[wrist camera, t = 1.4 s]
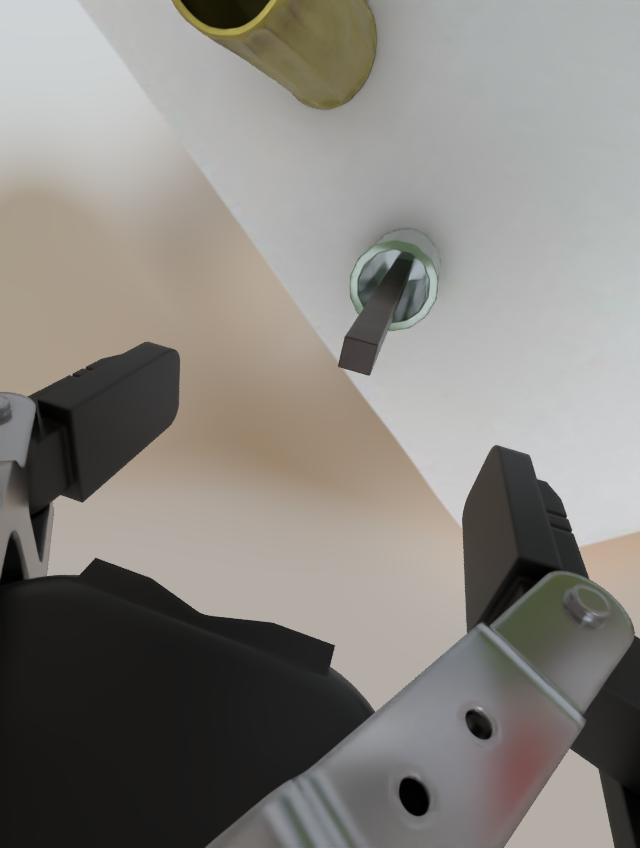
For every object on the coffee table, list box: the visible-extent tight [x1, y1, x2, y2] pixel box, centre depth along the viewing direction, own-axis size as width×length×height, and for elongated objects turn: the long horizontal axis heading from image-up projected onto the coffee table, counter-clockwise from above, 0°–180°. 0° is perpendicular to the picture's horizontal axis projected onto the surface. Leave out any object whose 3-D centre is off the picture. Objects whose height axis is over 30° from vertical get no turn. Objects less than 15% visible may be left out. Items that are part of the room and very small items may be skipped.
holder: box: [350, 229, 440, 331], centre depth 28 cm, size 5×5×7 cm
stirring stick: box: [338, 258, 413, 375], centre depth 23 cm, size 1×1×18 cm
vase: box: [172, 0, 376, 109], centre depth 20 cm, size 6×6×14 cm
